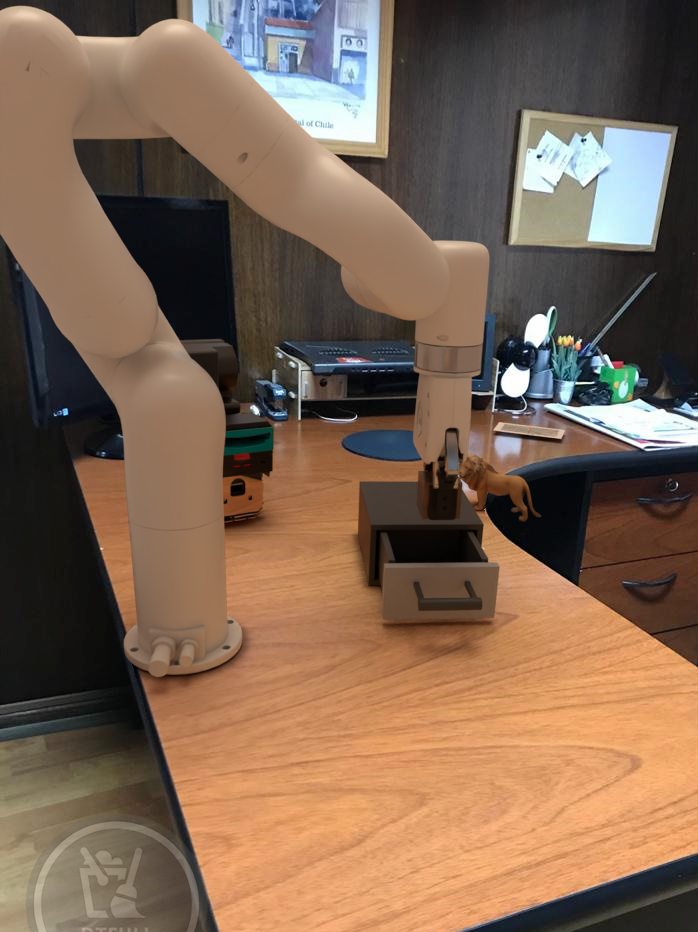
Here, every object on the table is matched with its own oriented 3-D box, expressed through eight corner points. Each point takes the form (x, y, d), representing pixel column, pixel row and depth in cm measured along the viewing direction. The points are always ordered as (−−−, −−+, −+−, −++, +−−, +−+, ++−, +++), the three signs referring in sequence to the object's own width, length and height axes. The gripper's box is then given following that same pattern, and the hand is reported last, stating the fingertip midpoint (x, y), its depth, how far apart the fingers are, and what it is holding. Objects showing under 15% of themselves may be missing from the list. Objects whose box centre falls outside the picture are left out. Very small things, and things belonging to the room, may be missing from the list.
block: (460, 519, 91) (462, 482, 89) (422, 519, 90) (424, 483, 89) (452, 505, 95) (455, 470, 93) (416, 505, 95) (418, 470, 93)
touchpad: (498, 426, 179) (499, 417, 178) (564, 434, 175) (565, 425, 174) (492, 435, 172) (493, 425, 171) (560, 443, 168) (562, 433, 167)
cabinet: (478, 584, 102) (483, 524, 99) (368, 585, 100) (370, 524, 97) (453, 534, 118) (457, 481, 114) (357, 535, 116) (359, 481, 113)
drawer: (506, 643, 87) (513, 589, 84) (388, 646, 85) (391, 590, 83) (466, 562, 106) (470, 516, 104) (369, 563, 105) (371, 517, 102)
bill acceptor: (213, 535, 113) (207, 365, 104) (162, 488, 131) (152, 339, 122) (278, 523, 119) (277, 360, 110) (220, 479, 136) (215, 336, 127)
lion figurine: (449, 508, 128) (453, 456, 125) (460, 498, 133) (464, 448, 129) (536, 525, 123) (543, 471, 119) (544, 514, 127) (551, 462, 124)
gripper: (403, 344, 93) (397, 487, 100) (427, 373, 78) (417, 539, 84) (464, 346, 94) (454, 486, 101) (499, 374, 79) (484, 538, 85)
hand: (437, 509), depth 93 cm, fingers closed on block, 4 cm apart
